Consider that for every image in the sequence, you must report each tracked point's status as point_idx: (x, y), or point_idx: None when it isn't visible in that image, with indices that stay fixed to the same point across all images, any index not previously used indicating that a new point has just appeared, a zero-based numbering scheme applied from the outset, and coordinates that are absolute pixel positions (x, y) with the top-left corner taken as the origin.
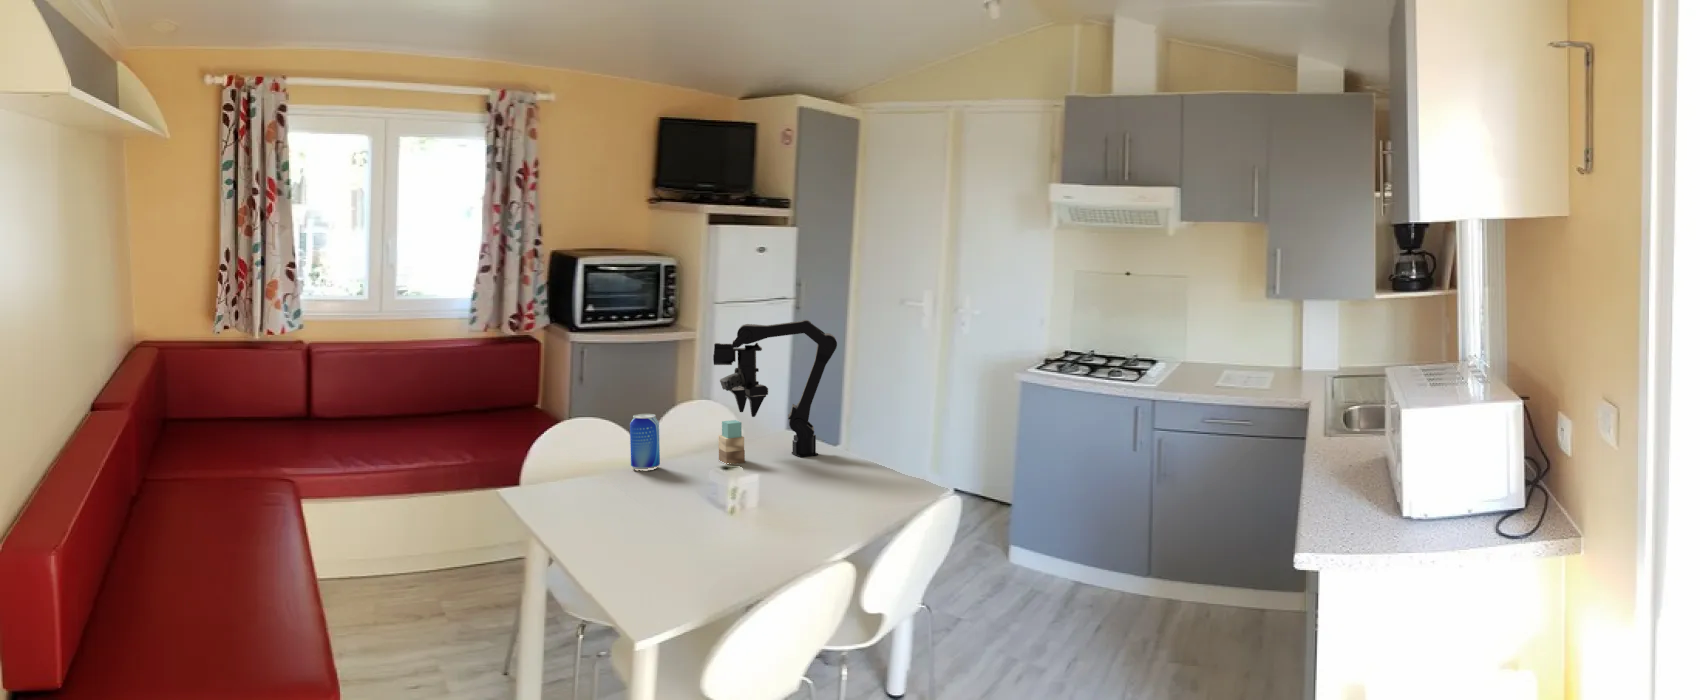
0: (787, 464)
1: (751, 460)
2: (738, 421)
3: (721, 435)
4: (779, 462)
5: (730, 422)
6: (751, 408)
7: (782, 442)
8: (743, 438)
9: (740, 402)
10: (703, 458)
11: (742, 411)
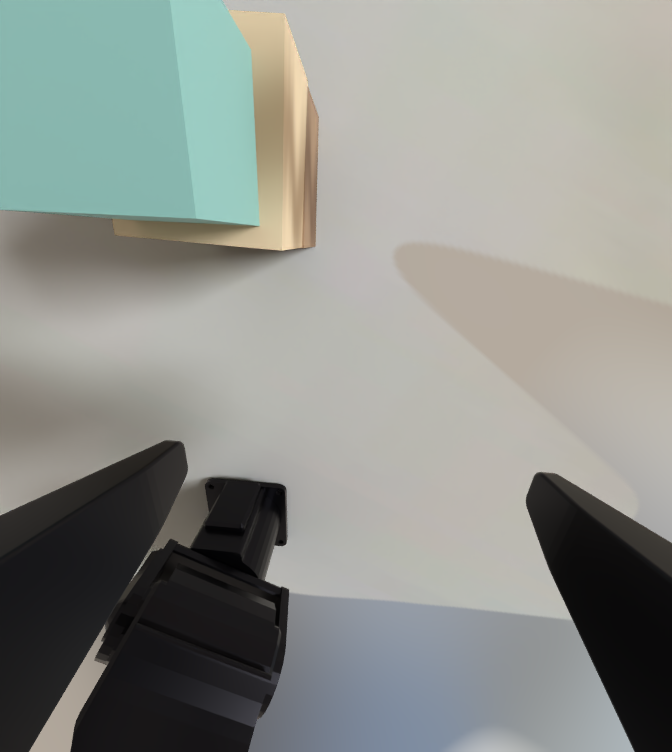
0: (114, 387)
1: (245, 294)
2: (72, 203)
3: (271, 53)
4: (159, 379)
5: (7, 23)
6: (31, 502)
7: (486, 549)
8: (120, 228)
9: (647, 615)
10: (439, 43)
11: (530, 500)
